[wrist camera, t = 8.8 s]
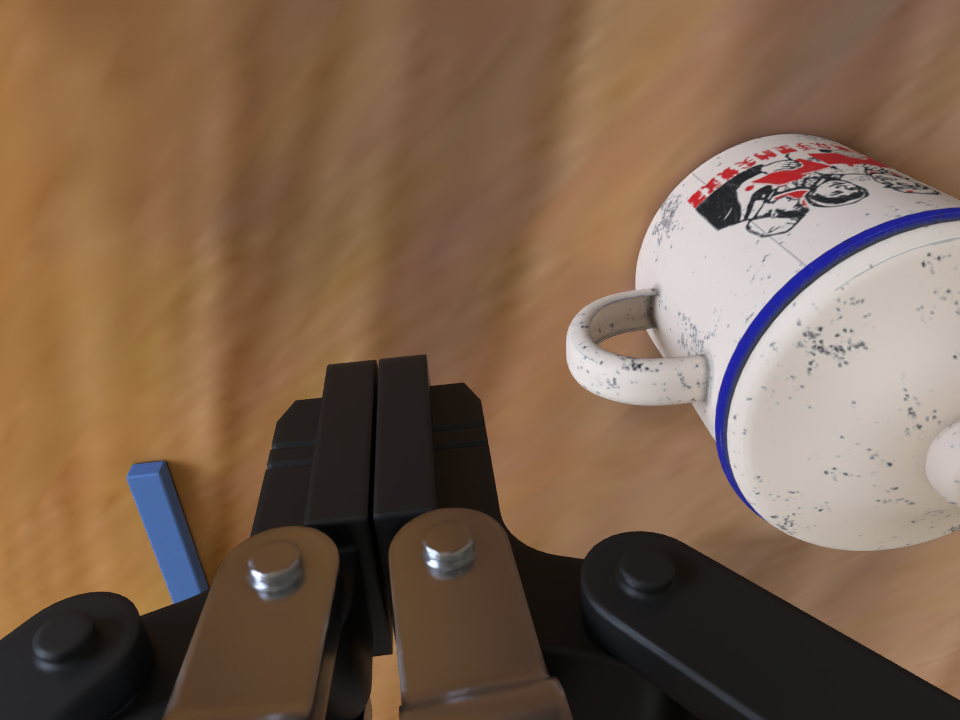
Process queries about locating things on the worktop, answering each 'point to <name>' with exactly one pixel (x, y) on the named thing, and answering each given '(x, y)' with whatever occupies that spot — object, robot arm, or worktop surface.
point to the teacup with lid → (803, 337)
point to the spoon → (167, 529)
